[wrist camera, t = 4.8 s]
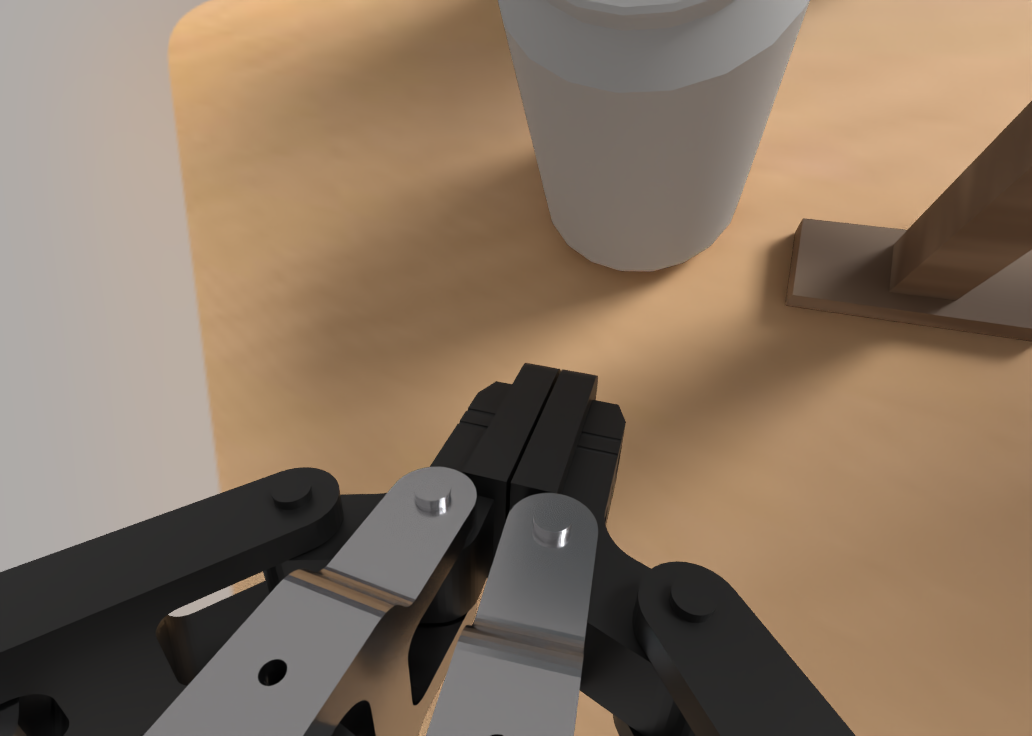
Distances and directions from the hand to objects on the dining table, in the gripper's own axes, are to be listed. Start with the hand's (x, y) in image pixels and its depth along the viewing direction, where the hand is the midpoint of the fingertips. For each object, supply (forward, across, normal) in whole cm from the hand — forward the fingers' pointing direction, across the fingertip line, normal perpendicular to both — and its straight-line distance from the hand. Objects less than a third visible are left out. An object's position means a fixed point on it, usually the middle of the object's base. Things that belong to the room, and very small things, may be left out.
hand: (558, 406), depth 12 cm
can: (+14, 0, -1) cm, 15 cm away
